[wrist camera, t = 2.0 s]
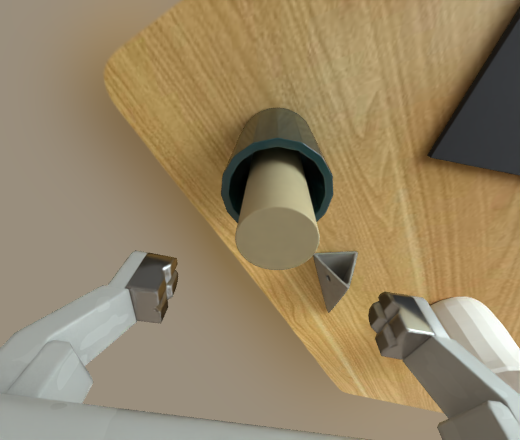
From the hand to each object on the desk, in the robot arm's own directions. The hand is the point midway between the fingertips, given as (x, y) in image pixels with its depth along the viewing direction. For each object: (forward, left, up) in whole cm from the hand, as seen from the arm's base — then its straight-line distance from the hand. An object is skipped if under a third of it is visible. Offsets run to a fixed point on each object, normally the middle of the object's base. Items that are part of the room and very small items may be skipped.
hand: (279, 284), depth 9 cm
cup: (+20, +32, -16) cm, 41 cm away
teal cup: (0, 0, -16) cm, 16 cm away
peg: (0, 0, -15) cm, 15 cm away
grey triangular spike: (+17, +13, -16) cm, 27 cm away
